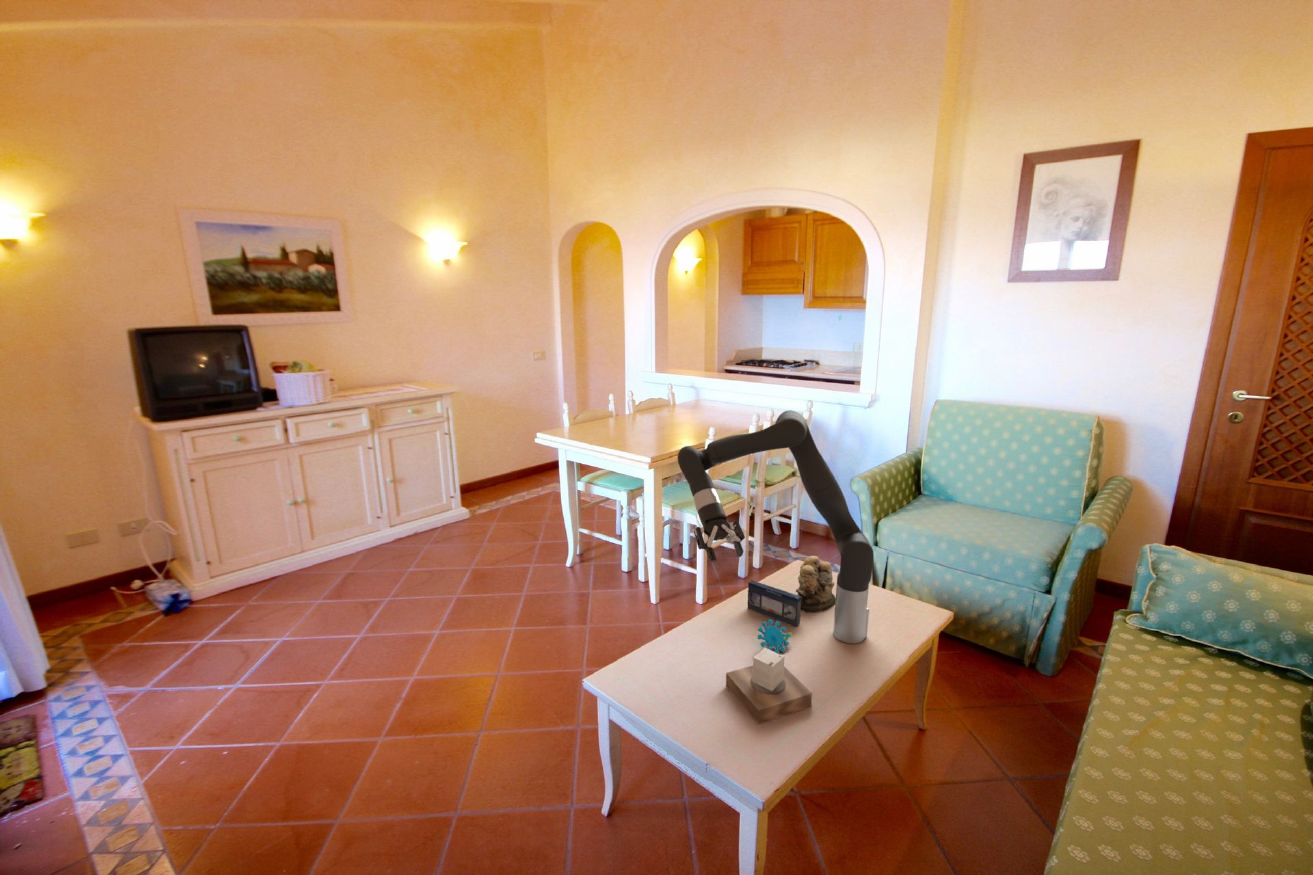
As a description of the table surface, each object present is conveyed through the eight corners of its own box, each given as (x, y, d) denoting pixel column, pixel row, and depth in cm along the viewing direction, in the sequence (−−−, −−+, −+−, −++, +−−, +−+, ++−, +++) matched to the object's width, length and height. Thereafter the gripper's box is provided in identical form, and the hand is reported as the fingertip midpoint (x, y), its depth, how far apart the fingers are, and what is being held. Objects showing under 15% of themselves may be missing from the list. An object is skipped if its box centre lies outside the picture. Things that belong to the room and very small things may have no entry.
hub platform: (775, 671, 165) (776, 657, 164) (811, 706, 150) (812, 692, 149) (725, 685, 158) (726, 671, 157) (758, 724, 144) (758, 709, 143)
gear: (762, 653, 170) (756, 618, 175) (754, 657, 175) (749, 624, 180) (796, 652, 173) (790, 618, 178) (787, 657, 178) (781, 623, 183)
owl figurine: (812, 618, 192) (815, 570, 188) (783, 605, 200) (785, 559, 197) (843, 600, 203) (846, 554, 199) (814, 588, 212) (817, 544, 208)
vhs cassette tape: (746, 608, 198) (747, 582, 196) (751, 605, 200) (752, 578, 198) (796, 628, 186) (797, 599, 184) (800, 624, 188) (802, 596, 186)
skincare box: (763, 671, 158) (764, 646, 156) (783, 680, 154) (785, 655, 152) (751, 682, 153) (752, 657, 152) (772, 692, 149) (773, 666, 148)
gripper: (691, 505, 167) (710, 557, 160) (734, 498, 173) (754, 549, 165) (683, 516, 173) (700, 567, 166) (725, 509, 179) (744, 559, 171)
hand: (727, 558), depth 165 cm, fingers open, 8 cm apart
